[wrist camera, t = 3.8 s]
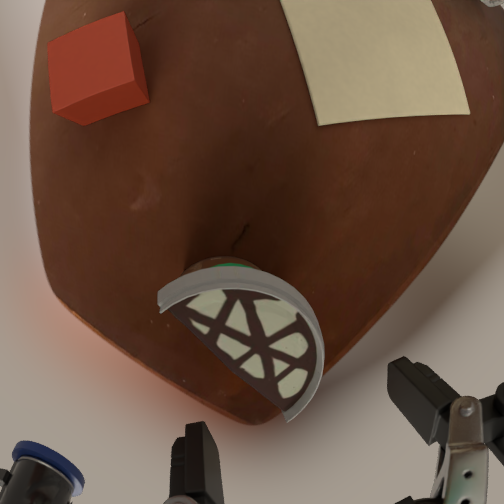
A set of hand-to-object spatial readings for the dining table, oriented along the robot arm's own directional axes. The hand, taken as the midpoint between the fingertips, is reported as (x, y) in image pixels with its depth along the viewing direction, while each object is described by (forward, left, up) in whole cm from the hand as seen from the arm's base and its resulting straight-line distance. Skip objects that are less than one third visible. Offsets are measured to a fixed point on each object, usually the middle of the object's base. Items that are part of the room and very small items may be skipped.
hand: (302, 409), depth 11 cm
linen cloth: (+19, +21, -16) cm, 32 cm away
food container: (0, 0, -16) cm, 16 cm away
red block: (-7, +20, -16) cm, 26 cm away
